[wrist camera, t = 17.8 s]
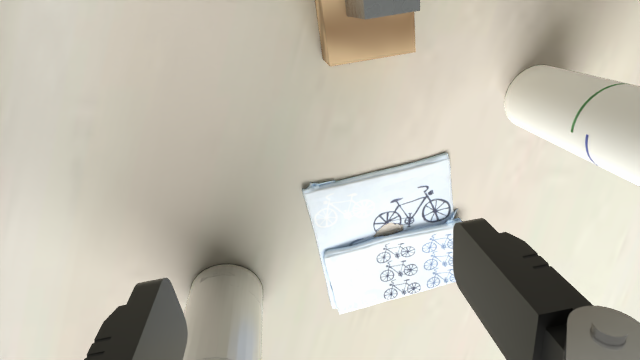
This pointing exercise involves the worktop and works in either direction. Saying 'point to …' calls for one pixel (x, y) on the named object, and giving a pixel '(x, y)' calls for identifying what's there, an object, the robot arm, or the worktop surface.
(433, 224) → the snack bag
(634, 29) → the worktop surface
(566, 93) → the cylindrical container
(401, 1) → the aluminium block
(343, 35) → the oak ledge
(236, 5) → the worktop surface
